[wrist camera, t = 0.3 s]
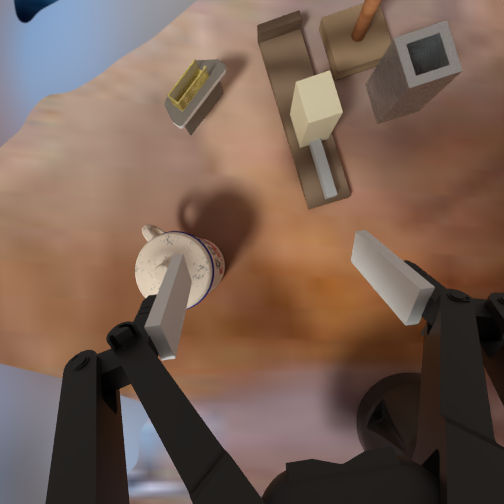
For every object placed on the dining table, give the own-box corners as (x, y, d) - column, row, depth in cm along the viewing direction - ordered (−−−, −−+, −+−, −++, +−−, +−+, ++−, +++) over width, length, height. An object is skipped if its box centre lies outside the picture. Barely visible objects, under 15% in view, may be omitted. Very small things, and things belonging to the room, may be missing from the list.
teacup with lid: (239, 268, 33) (225, 277, 22) (195, 308, 34) (158, 338, 22) (186, 209, 34) (146, 187, 22) (143, 249, 34) (81, 248, 22)
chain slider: (344, 193, 31) (363, 179, 25) (316, 202, 31) (328, 190, 25) (317, 105, 31) (330, 70, 25) (289, 114, 31) (295, 81, 25)
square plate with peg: (388, 62, 32) (433, -7, 23) (334, 80, 32) (359, 19, 24) (372, 9, 32) (411, -77, 24) (319, 28, 32) (338, -51, 24)
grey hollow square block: (418, 110, 32) (462, 70, 25) (377, 123, 32) (409, 88, 25) (406, 70, 32) (446, 20, 25) (365, 84, 32) (393, 38, 25)
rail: (348, 197, 32) (354, 193, 30) (308, 209, 33) (311, 206, 30) (296, 27, 33) (299, 10, 30) (257, 41, 33) (257, 25, 31)
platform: (138, 135, 35) (108, 108, 28) (209, 41, 34) (195, -9, 27) (196, 182, 34) (180, 166, 28) (270, 88, 33) (271, 48, 27)
